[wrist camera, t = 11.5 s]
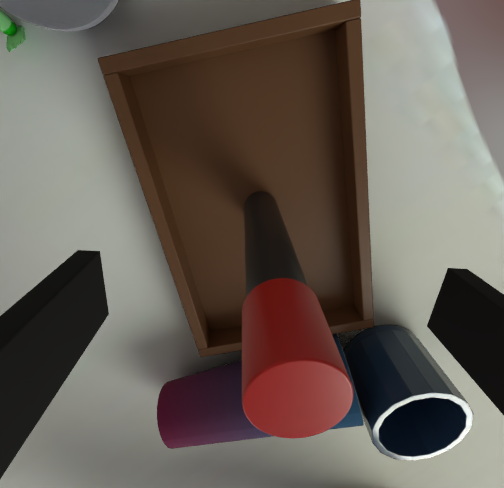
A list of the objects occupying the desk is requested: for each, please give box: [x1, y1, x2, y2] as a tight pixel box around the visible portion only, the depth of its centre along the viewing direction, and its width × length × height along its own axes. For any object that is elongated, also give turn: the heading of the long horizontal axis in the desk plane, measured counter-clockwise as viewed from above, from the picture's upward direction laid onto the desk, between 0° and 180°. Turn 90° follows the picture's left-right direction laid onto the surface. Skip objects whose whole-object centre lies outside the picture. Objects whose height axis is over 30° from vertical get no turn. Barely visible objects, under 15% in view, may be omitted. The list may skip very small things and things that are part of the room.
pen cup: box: [344, 325, 473, 460], centre depth 25 cm, size 7×7×7 cm
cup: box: [157, 334, 363, 449], centre depth 25 cm, size 7×7×15 cm
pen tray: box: [98, 0, 374, 357], centre depth 21 cm, size 21×14×3 cm, turn 11°
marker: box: [242, 191, 353, 438], centre depth 14 cm, size 3×3×16 cm
